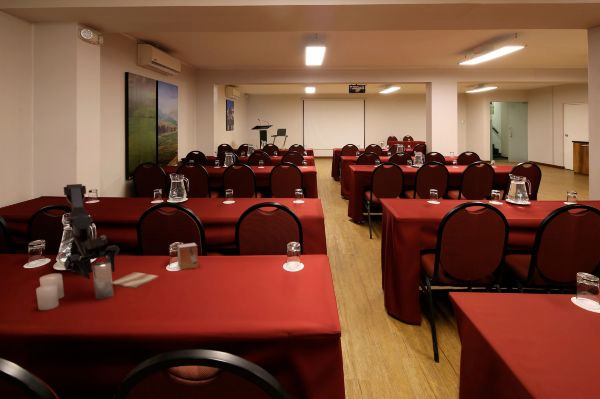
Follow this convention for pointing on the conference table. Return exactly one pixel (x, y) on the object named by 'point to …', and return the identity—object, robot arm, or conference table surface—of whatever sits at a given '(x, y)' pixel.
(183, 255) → the small box
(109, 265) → the steel flask
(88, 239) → the robot arm
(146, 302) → the conference table surface
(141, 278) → the beige square tile
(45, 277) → the beige rounded block
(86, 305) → the conference table surface
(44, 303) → the white squat cylinder
